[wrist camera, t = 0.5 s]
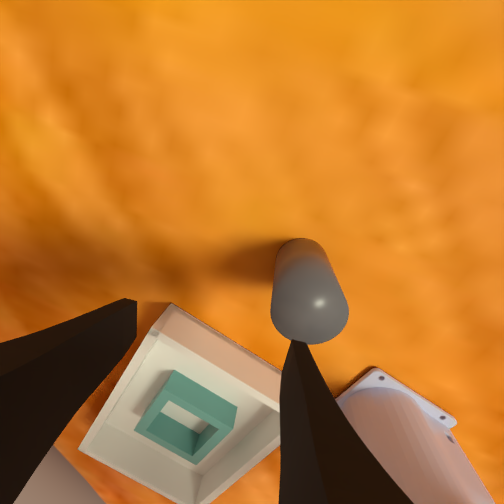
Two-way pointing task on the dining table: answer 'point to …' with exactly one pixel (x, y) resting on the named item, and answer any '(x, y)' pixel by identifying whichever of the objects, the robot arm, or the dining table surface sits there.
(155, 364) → the walled box
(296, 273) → the cylinder
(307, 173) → the dining table surface
